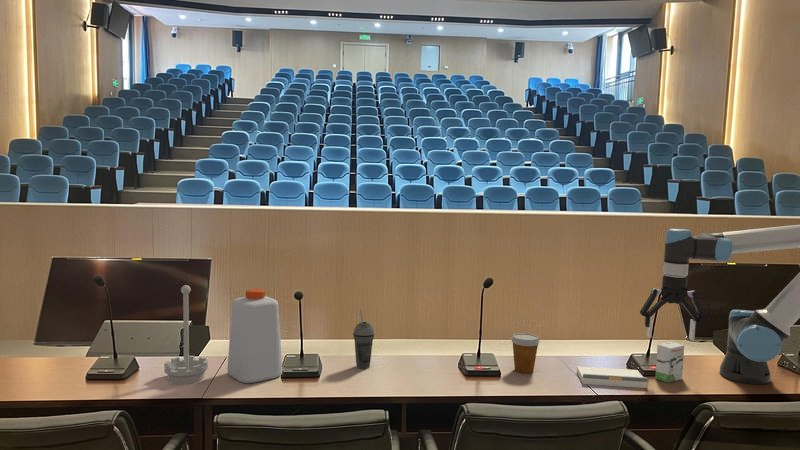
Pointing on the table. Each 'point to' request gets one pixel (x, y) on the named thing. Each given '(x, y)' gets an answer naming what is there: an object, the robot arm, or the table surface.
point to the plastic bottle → (254, 338)
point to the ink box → (669, 362)
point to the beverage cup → (363, 343)
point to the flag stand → (186, 355)
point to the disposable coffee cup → (524, 351)
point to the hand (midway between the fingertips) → (670, 338)
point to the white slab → (611, 377)
